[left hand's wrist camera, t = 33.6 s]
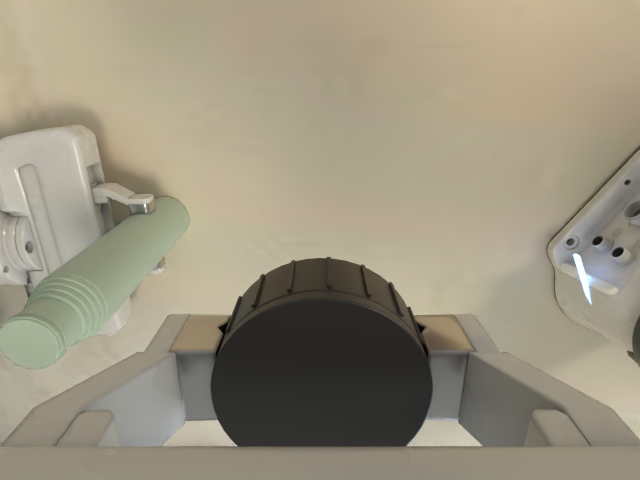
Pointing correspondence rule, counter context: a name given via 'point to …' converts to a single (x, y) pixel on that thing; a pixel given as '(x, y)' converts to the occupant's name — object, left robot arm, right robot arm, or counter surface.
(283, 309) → the cap
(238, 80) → the counter surface
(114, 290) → the bottle
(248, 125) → the counter surface
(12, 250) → the right robot arm
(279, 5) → the counter surface
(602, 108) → the counter surface
